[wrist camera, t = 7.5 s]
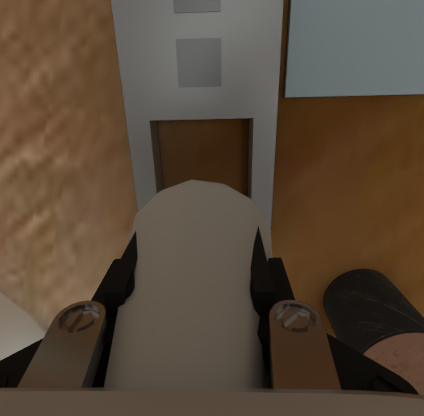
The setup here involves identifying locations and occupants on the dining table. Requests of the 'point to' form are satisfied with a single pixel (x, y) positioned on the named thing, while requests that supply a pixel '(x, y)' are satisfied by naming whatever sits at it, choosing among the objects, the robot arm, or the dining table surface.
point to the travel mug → (378, 323)
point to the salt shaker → (192, 294)
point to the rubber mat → (354, 48)
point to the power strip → (200, 78)
